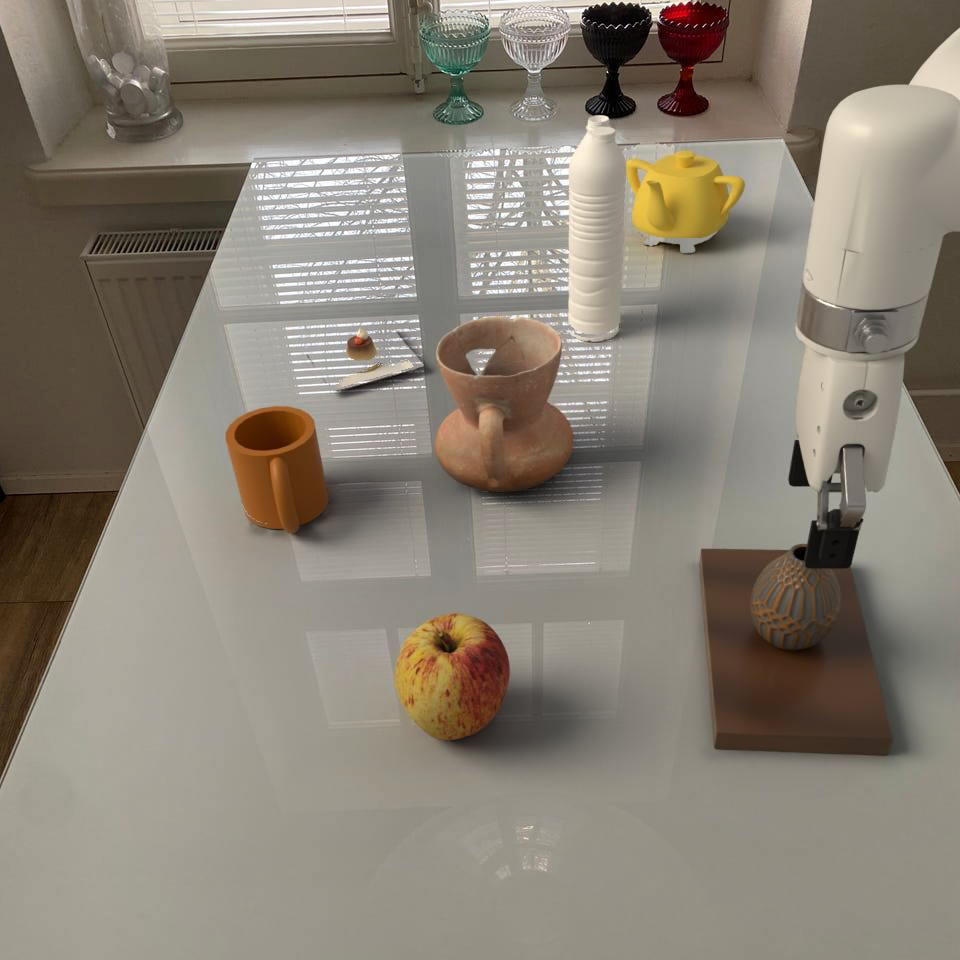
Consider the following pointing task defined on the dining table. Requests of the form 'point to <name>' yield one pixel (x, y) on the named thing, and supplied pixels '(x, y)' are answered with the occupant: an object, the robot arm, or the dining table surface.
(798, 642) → the vase
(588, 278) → the water bottle
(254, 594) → the dining table surface
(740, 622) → the walnut board
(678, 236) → the teapot
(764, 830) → the dining table surface
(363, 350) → the pudding and tray
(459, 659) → the apple
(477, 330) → the ceramic jug
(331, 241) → the dining table surface
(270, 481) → the mug
